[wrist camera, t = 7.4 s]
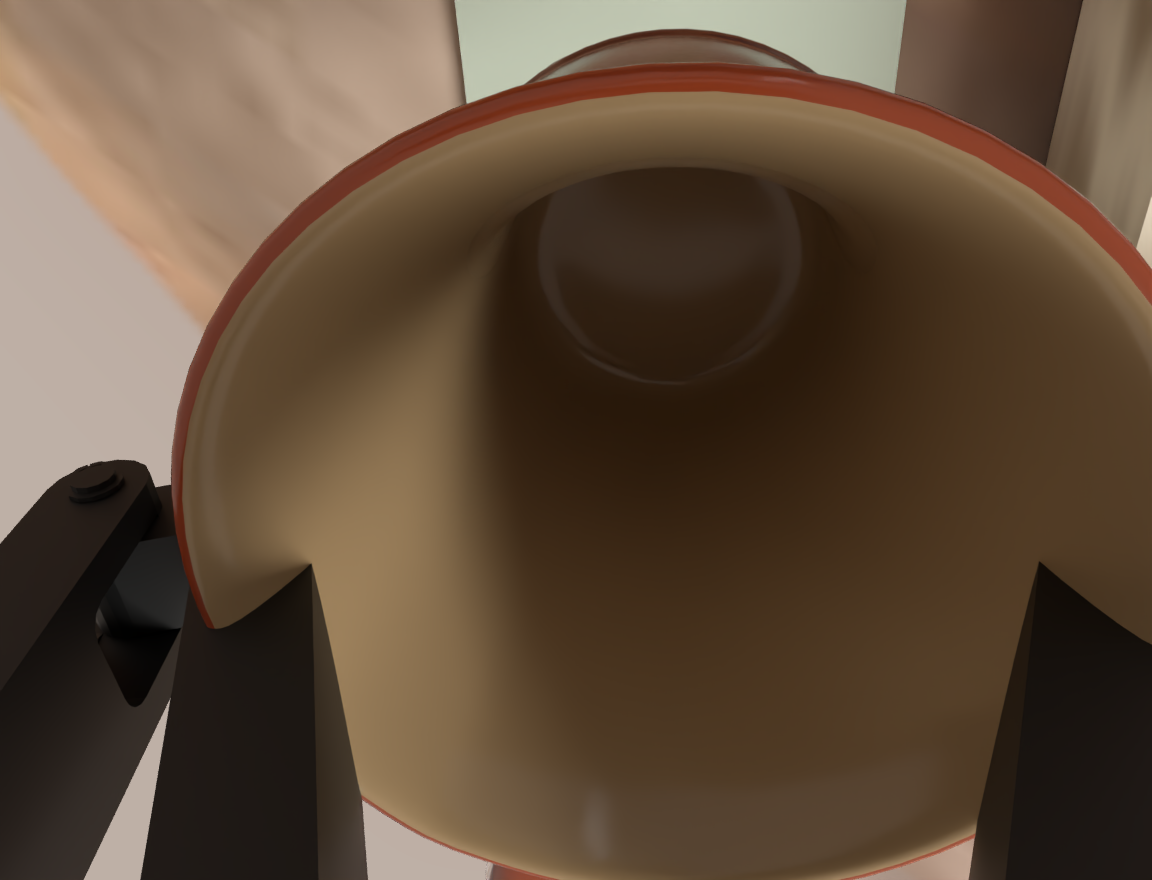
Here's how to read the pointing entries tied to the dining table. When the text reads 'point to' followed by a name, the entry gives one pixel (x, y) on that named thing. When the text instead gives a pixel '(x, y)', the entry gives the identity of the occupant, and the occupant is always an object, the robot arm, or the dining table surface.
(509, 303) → the mug
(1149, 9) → the side wall
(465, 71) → the pad
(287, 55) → the dining table surface
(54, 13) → the dining table surface
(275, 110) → the dining table surface
